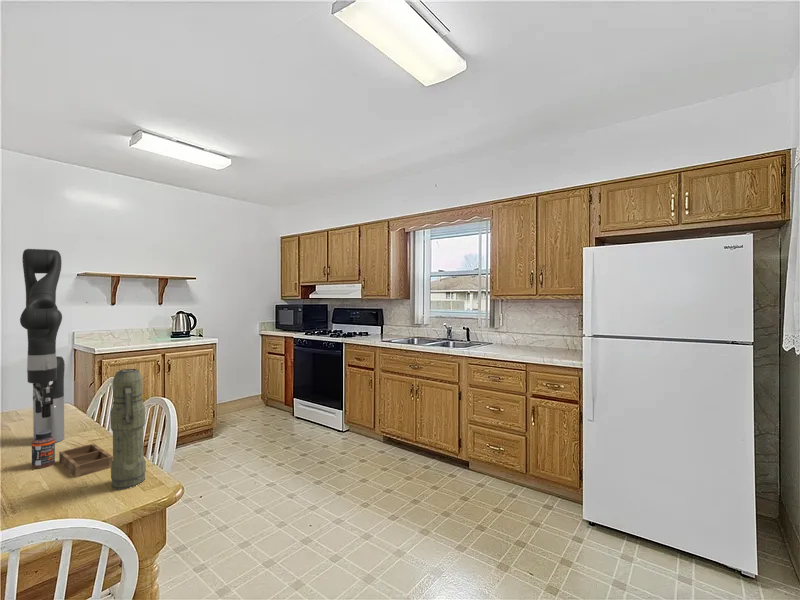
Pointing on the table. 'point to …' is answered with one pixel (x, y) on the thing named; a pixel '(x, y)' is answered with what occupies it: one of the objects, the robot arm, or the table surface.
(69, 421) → the table surface
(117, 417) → the thermos
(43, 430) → the robot arm
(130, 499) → the table surface
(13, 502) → the table surface
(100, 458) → the wooden divided tray
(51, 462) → the supplement bottle
